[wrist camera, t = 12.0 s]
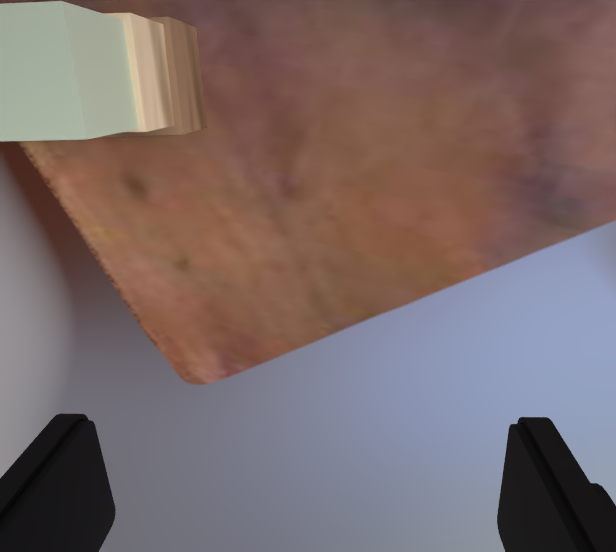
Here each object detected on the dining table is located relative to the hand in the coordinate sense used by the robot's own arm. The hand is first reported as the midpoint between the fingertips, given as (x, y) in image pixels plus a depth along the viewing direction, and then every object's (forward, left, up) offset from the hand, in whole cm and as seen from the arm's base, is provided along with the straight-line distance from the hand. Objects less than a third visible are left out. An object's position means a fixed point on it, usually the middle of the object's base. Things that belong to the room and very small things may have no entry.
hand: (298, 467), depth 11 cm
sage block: (+13, -9, -19) cm, 25 cm away
